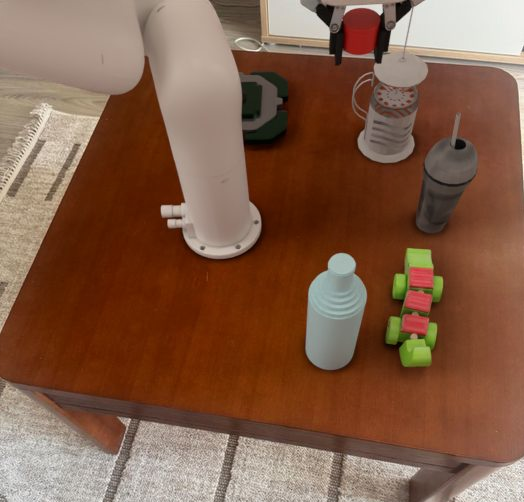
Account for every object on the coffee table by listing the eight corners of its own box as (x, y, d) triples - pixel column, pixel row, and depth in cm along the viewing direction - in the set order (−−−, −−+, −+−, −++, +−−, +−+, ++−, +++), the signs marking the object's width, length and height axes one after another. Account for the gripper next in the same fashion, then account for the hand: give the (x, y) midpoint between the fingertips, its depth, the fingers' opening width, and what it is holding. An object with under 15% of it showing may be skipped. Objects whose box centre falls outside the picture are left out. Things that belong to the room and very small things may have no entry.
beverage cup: (452, 243, 81) (498, 138, 63) (404, 237, 82) (436, 132, 64) (454, 207, 84) (499, 97, 66) (408, 201, 85) (440, 92, 67)
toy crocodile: (395, 257, 80) (403, 231, 75) (440, 263, 79) (451, 238, 74) (380, 372, 72) (387, 353, 66) (429, 381, 71) (441, 362, 65)
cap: (366, 28, 63) (370, 3, 61) (383, 49, 62) (387, 24, 59) (334, 38, 63) (336, 13, 60) (350, 59, 61) (352, 34, 58)
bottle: (306, 370, 73) (311, 291, 55) (304, 327, 76) (308, 238, 58) (355, 369, 72) (377, 289, 54) (352, 326, 75) (371, 237, 57)
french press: (413, 165, 88) (454, 14, 66) (344, 159, 90) (361, 9, 68) (416, 125, 93) (455, -30, 70) (350, 119, 94) (368, -34, 72)
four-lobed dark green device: (194, 83, 101) (190, 61, 97) (288, 82, 100) (288, 59, 95) (184, 151, 93) (179, 130, 88) (286, 150, 91) (286, 128, 87)
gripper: (466, -159, 49) (422, 34, 65) (285, -147, 50) (287, 41, 66) (481, -119, 45) (431, 74, 62) (287, -107, 46) (288, 81, 63)
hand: (357, 56), depth 64 cm, fingers closed on cap, 4 cm apart
